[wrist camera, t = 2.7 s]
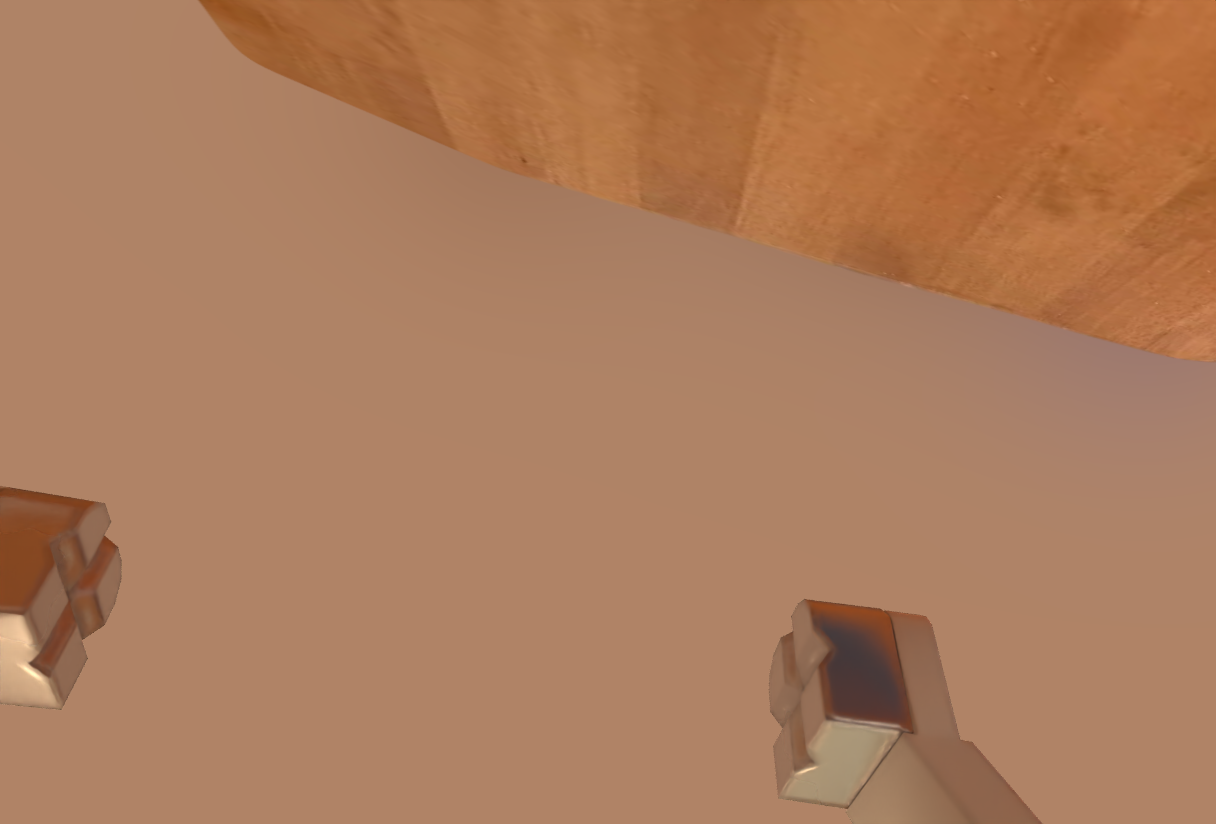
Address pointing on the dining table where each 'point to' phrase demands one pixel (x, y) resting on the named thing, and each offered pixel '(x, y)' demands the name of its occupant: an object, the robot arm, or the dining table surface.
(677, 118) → the dining table surface
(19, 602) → the robot arm
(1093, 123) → the dining table surface
